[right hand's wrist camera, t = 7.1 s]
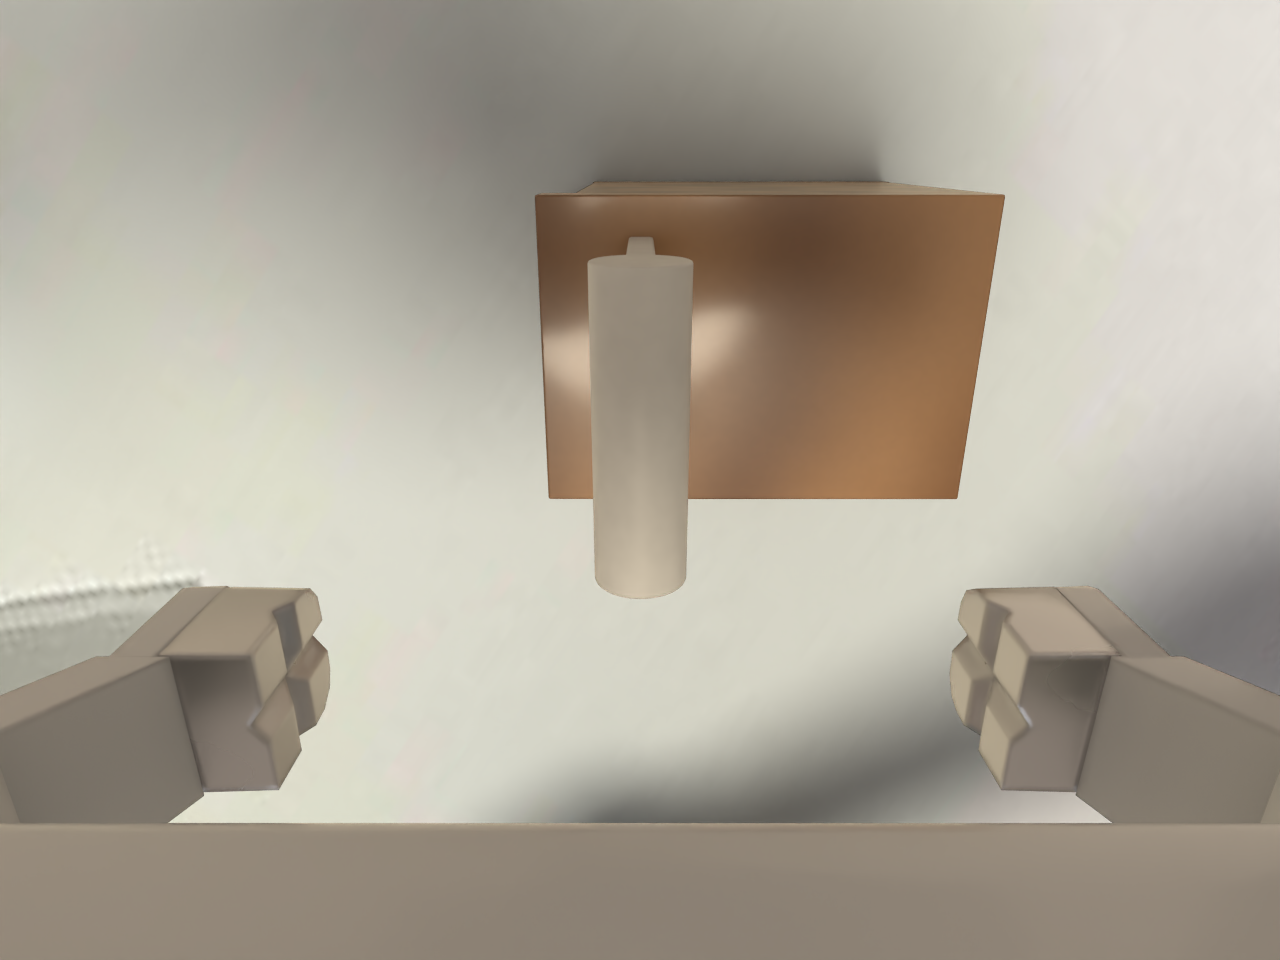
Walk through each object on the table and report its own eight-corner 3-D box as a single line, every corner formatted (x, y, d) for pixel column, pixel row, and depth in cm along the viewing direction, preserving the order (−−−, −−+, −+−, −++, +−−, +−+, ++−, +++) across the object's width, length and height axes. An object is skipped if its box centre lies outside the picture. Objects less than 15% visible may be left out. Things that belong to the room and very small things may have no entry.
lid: (552, 485, 27) (511, 636, 19) (539, 192, 24) (481, 213, 15) (944, 485, 27) (1084, 637, 19) (988, 192, 24) (1185, 213, 15)
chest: (598, 393, 38) (582, 484, 27) (594, 181, 34) (573, 192, 24) (860, 394, 38) (944, 484, 27) (882, 181, 34) (988, 192, 24)
